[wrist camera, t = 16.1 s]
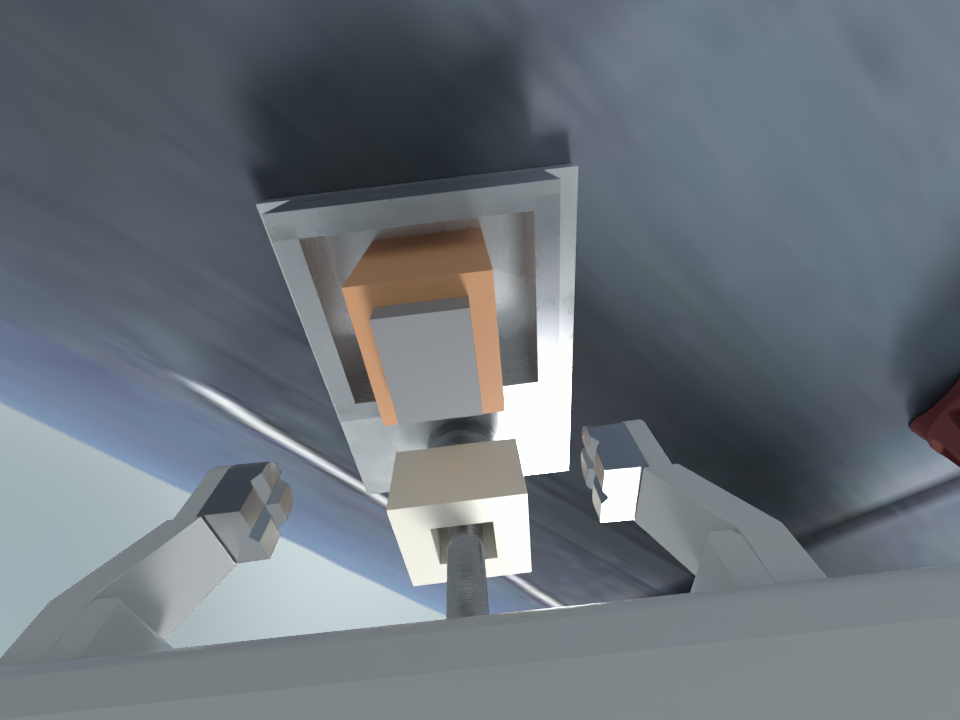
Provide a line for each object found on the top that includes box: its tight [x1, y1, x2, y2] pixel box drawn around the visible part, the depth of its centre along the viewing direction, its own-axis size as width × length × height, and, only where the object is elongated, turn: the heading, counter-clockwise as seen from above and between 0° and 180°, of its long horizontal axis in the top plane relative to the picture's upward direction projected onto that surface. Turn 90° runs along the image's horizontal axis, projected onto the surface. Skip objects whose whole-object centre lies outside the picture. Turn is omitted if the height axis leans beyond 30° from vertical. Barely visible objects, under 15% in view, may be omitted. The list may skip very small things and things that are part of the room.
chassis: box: [256, 163, 578, 619], centre depth 18 cm, size 19×14×12 cm
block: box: [341, 227, 505, 426], centre depth 16 cm, size 5×6×7 cm
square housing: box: [386, 438, 532, 586], centre depth 21 cm, size 6×6×4 cm
